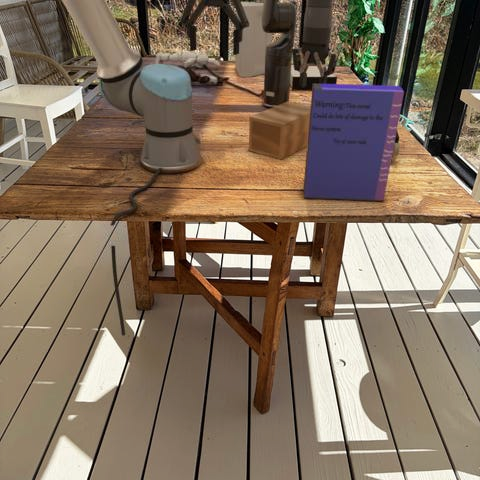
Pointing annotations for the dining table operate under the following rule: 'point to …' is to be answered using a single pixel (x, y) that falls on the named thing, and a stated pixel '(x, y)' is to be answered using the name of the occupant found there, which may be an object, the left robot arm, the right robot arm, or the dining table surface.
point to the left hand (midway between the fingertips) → (214, 52)
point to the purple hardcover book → (351, 141)
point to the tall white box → (252, 43)
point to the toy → (186, 58)
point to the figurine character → (396, 146)
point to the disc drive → (309, 78)
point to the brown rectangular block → (279, 130)
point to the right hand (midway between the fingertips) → (312, 87)
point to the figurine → (205, 79)
